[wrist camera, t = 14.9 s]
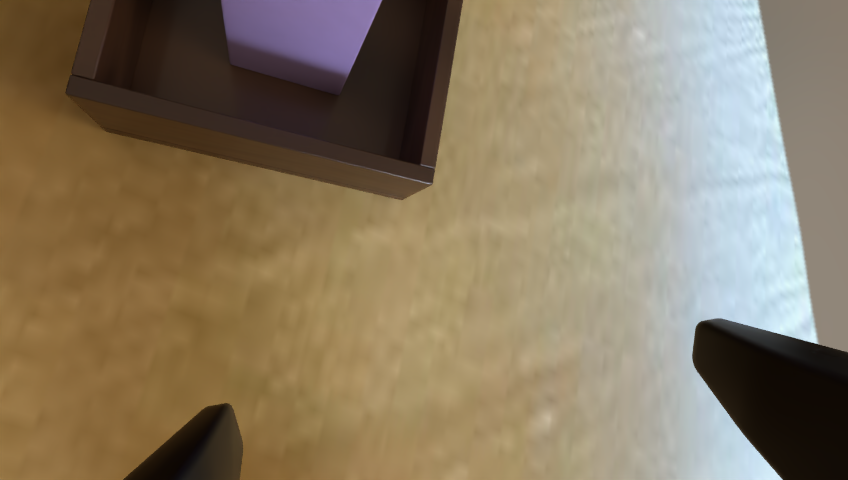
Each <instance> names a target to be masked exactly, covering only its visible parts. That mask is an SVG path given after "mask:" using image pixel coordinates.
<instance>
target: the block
mask: <svg viewBox="0 0 848 480" xmlns="http://www.w3.org/2000/svg"><path fill="white" fill-rule="evenodd" d="M381 2H382V0H221V5H222V12H223V19H224V26H225V33H226V40H227V47H228V54H229V61H230V64H231V65H234V66H238V67H241V68H245V69H248V70H252V71H255V72H259V73H262V74H265V75H269V76H272V77H276V78H279V79H283V80H286V81H290V82H293V83H297V84H300V85H303V86H307V87H310V88H314V89H317V90H321V91H324V92H328V93H331V94H335V95H340V93H341V91H342V88H343V86H344V84H345V82H346V80H347V77H348V75H349V73H350V71H351V68H352V66H353V64H354V62H355V60H356V57H357V55H358V53H359V51H360V48H361V46H362V44H363V42H364V40H365V37H366V35H367V33H368V31H369V28H370V26H371V24H372V22H373V20H374V17H375V15H376V13H377V11H378V8H379V6H380V4H381Z"/></svg>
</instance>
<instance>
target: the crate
mask: <svg viewBox="0 0 848 480" xmlns="http://www.w3.org/2000/svg"><path fill="white" fill-rule="evenodd" d="M462 3H463V0H382V2H381V4H380V6H379V8H378V11H377V13H376V15H375V17H374V20H373V22H372V24H371V26H370V28H369V31H368V33H367V35H366V37H365V40H364V42H363V44H362V46H361V48H360V51H359V53H358V55H357V57H356V60H355V62H354V64H353V66H352V68H351V71H350V73H349V75H348V77H347V80H346V82H345V84H344V86H343V88H342V91H341V93H340V95H335V94H331V93H328V92H324V91H321V90H317V89H314V88H310V87H307V86H303V85H300V84H297V83H293V82H290V81H286V80H283V79H279V78H276V77H272V76H269V75H265V74H262V73H259V72H255V71H252V70H248V69H245V68H241V67H238V66H234V65H231V64H230V61H229V54H228V47H227V40H226V33H225V26H224V19H223V12H222V5H221V0H91V1H90V5H89V9H88V12H87V16H86V20H85V24H84V27H83V31H82V35H81V38H80V42H79V46H78V49H77V53H76V57H75V60H74V64H73V68H72V71H71V73H72V75H70V78H69V81H68V85H67V89H66V92H65V93H66V95H67V96H68V97H70V98H71V99H72V100H73V101H74V102H75V103H76V104H77V105H78V106H79V107H80V108H82V109H83V110H84V111H85V112H86V113H87V114H88V115H89V116H90V117H91V118H92V119H93V120H95V121H96V122H97V123H98V124H99V125H100V126H101V127H102V128H103V129H104V130H105V131H107V132H111V133H115V134H119V135H124V136H128V137H132V138H137V139H141V140H145V141H149V142H154V143H158V144H162V145H167V146H171V147H175V148H180V149H184V150H188V151H193V152H197V153H201V154H205V155H210V156H214V157H218V158H223V159H227V160H231V161H236V162H240V163H244V164H249V165H253V166H257V167H262V168H266V169H270V170H274V171H279V172H283V173H287V174H292V175H296V176H300V177H305V178H309V179H313V180H318V181H322V182H326V183H330V184H335V185H339V186H343V187H348V188H352V189H356V190H361V191H365V192H369V193H374V194H378V195H382V196H387V197H391V198H395V199H399V200H403V199H405V198H407V197H409V196H411V195H413V194H415V193H417V192H419V191H421V190H423V189H425V188H427V187H429V186H431V185H432V184H433V178H434V172H435V166H436V160H437V154H438V148H439V142H440V136H441V130H442V124H443V118H444V112H445V106H446V100H447V94H448V88H449V82H450V76H451V70H452V64H453V58H454V52H455V46H456V40H457V34H458V27H459V21H460V15H461V9H462Z"/></svg>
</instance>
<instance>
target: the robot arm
mask: <svg viewBox="0 0 848 480" xmlns="http://www.w3.org/2000/svg"><path fill="white" fill-rule="evenodd" d="M692 359H693V364H694V366H695V368H696V370H697V372H698V373H699V374H700V376H701V377H702V378H703V380H704V381H705V383H706V384H707V385H708V387H709V388H710V389H711V391H712V392H713V394H714V395H715V396H716V398H717V399H718V400H719V402H720V403H721V405H722V406H723V407H724V409H725V410H726V411H727V413H728V414H729V415H730V417H731V418H732V420H733V421H734V422H735V424H736V425H737V426H738V428H739V429H740V430H741V432H742V433H743V434H744V435H745V437H746V438H747V439H748V440H749V441H750V443H751V444H752V445H753V446H754V447H755V448H756V450H757V451H758V452H759V453H760V454H761V455H762V456H763V458H764V459H765V460H766V461H767V462H768V463H769V464H770V466H771V467H772V468H773V469H774V470H775V471H776V472H777V474H778V475H779V476H780V477H781V478H782V479H783V480H848V352H844V351H841V350H837V349H833V348H829V347H826V346H822V345H818V344H815V343H811V342H807V341H803V340H800V339H796V338H792V337H788V336H785V335H781V334H777V333H773V332H770V331H766V330H762V329H758V328H755V327H751V326H747V325H743V324H740V323H736V322H732V321H728V320H725V319H711V320H705V321H701V322H699V323H698V324H697V326H696V329H695V337H694V346H693V354H692ZM242 456H243V442H242V437H241V434H240V430H239V427H238V423H237V420H236V416H235V413H234V410H233V408H232V406H231V405H230V404H228V403H225V404H219V405H213V406H208V407H205V408H204V409H203V410H201V411H200V412H199V413H198V414H197V415H196V416H195V417H194V418H192V419H191V420H190V421H189V422H188V423H187V424H186V425H184V426H183V427H182V428H181V429H180V430H179V431H178V432H176V433H175V434H174V435H173V436H172V437H171V438H170V439H169V440H167V441H166V442H165V443H164V444H163V445H162V446H161V447H159V448H158V449H157V450H156V451H155V452H154V453H153V454H151V455H150V456H149V457H148V458H147V459H146V460H145V461H144V462H142V463H141V464H140V465H139V466H138V467H137V468H136V469H134V470H133V471H132V472H131V473H130V474H129V475H128V476H127V477H125V478H124V479H123V480H240V472H241V464H242Z"/></svg>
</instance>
